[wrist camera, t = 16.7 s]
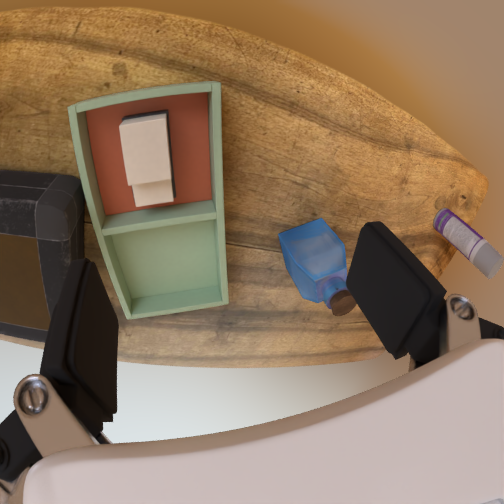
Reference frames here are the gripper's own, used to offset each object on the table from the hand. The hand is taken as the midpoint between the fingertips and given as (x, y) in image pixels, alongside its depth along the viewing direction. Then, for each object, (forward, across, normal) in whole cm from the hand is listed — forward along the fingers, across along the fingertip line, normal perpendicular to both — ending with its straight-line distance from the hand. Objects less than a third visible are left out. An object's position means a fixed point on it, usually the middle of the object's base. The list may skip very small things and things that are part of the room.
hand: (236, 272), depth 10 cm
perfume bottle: (+22, -14, +16) cm, 31 cm away
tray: (+22, +4, +9) cm, 24 cm away
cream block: (+21, +4, +2) cm, 22 cm away
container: (+22, -43, +15) cm, 51 cm away
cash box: (+22, +26, +9) cm, 35 cm away
